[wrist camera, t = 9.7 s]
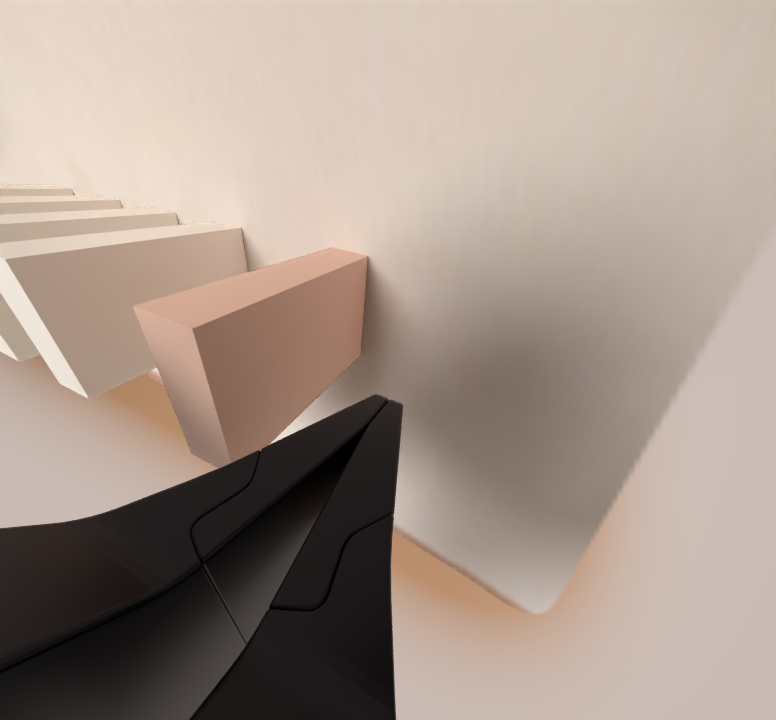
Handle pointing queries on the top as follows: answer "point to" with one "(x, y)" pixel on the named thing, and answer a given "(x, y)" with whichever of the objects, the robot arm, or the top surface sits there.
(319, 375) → the domino
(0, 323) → the domino
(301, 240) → the top surface
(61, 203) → the domino
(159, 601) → the robot arm
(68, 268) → the domino
